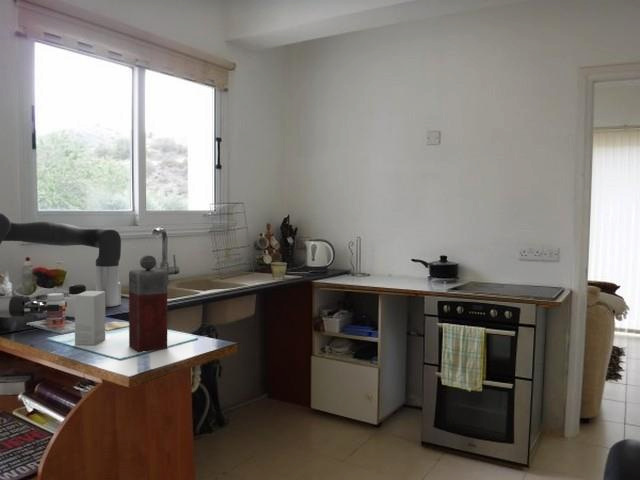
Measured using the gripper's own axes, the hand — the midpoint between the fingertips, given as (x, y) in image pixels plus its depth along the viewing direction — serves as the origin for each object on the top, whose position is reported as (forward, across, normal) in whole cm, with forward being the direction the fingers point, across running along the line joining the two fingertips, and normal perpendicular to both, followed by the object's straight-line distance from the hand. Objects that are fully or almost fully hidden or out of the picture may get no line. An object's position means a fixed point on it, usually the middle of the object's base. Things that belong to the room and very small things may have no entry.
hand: (62, 306), depth 184 cm
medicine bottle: (-1, +18, +7) cm, 20 cm away
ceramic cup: (+82, +130, +7) cm, 154 cm away
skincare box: (+17, -24, +7) cm, 30 cm away
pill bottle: (-2, 0, +7) cm, 8 cm away
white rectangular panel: (-1, -1, +7) cm, 7 cm away
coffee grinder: (+35, -30, +7) cm, 47 cm away
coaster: (+17, -2, +7) cm, 18 cm away
